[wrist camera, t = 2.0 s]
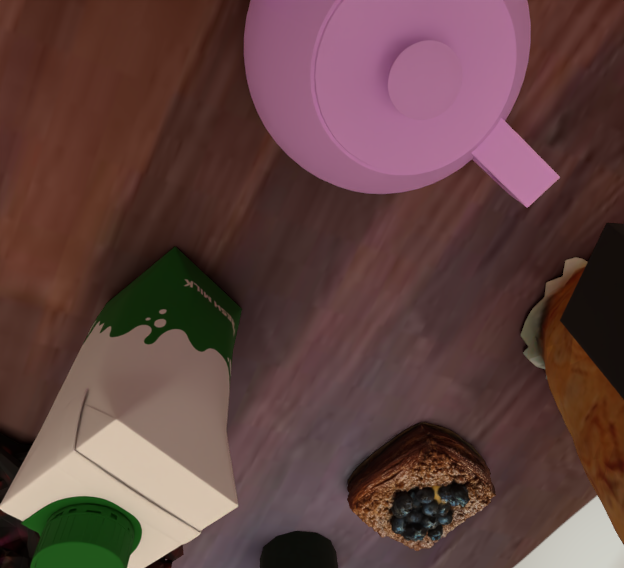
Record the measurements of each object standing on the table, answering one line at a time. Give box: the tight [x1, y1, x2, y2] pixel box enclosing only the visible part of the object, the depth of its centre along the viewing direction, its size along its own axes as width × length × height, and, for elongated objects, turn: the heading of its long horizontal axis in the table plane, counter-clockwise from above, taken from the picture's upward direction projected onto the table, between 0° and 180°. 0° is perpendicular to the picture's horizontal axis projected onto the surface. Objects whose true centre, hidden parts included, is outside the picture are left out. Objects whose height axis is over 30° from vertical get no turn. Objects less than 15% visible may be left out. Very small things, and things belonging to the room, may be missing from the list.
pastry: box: [347, 422, 496, 551], centre depth 49 cm, size 11×12×6 cm
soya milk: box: [0, 246, 242, 568], centre depth 32 cm, size 9×9×20 cm
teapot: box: [244, 0, 560, 208], centre depth 28 cm, size 22×16×12 cm
